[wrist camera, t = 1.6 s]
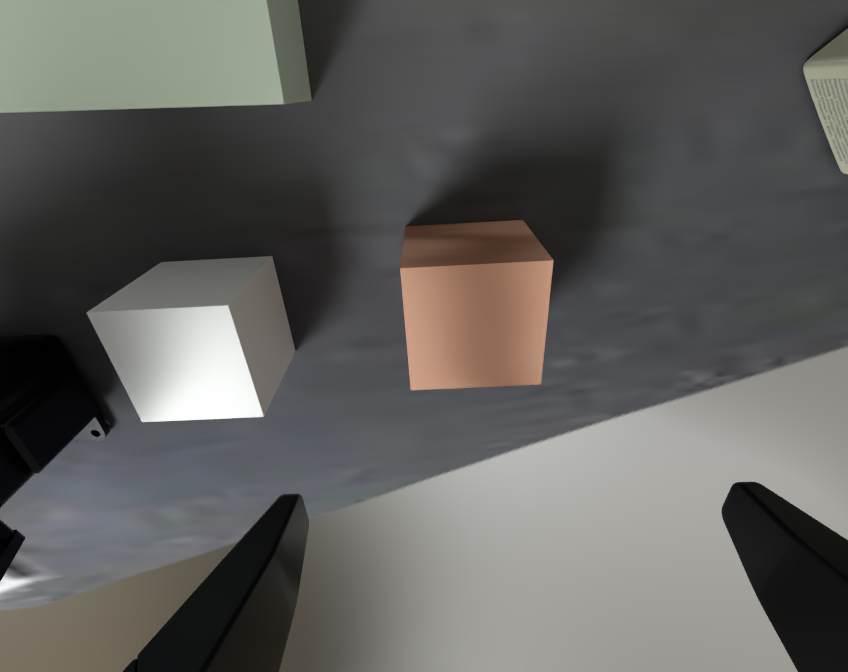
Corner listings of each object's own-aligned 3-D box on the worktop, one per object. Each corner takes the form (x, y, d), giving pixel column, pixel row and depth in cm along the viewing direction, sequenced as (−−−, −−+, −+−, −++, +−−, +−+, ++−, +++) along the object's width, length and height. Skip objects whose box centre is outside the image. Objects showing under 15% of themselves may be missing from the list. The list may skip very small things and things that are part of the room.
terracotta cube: (413, 327, 21) (410, 390, 17) (405, 225, 18) (400, 268, 14) (516, 322, 21) (540, 384, 16) (522, 219, 18) (553, 260, 14)
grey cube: (198, 355, 22) (142, 422, 17) (162, 261, 19) (85, 312, 15) (295, 350, 22) (263, 416, 17) (272, 255, 19) (227, 305, 15)
